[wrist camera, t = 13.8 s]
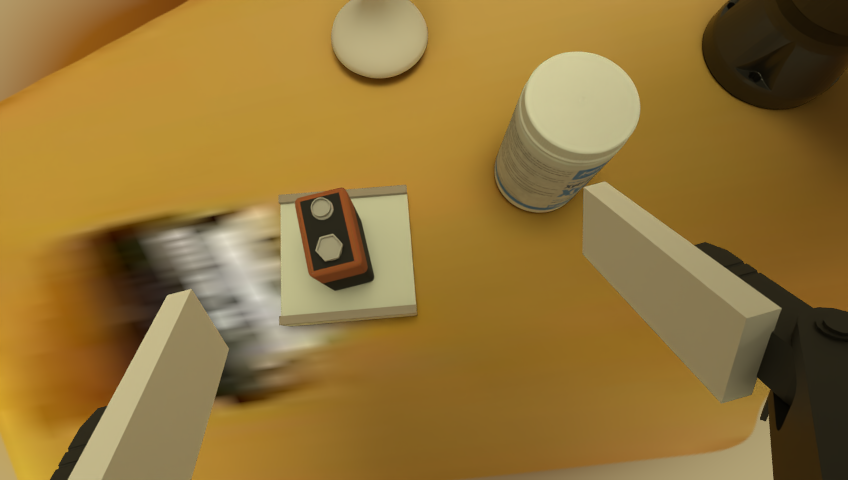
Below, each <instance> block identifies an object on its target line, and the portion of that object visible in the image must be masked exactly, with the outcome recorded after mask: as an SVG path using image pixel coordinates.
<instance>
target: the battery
mask: <svg viewBox="0 0 848 480" xmlns="http://www.w3.org/2000/svg"><path fill="white" fill-rule="evenodd" d="M295 208H296V213H297V218H298V223H299V228H300V233H301V238H302V243H303V248H304V253H305V258H306V264H307V268H308V273H309V275H310V276H311V277H312V278H314V279H316V280H317V281H319V282H321V283H322V284H324V285H326V286H327V287H329V288H331V289H332V290H334V291H337V290H341V289H345V288H348V287H352V286H356V285H360V284H364V283H368V282H371V281H373V279H374V272H373V268H372V264H371V260H370V255H369V251H368V247H367V243H366V238H365V234H364V230H363V226H362V222H361V219H360V217H359V215H358V213H357V211H356V209H355V207H354V205H353V203H352V201H351V199H350V197H349V195H348V193H347V191H346V190H345V189H344V188H337V189H333V190H329V191H325V192H321V193H316V194H312V195H308V196H304V197H300V198H297V199H296V201H295Z"/></svg>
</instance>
